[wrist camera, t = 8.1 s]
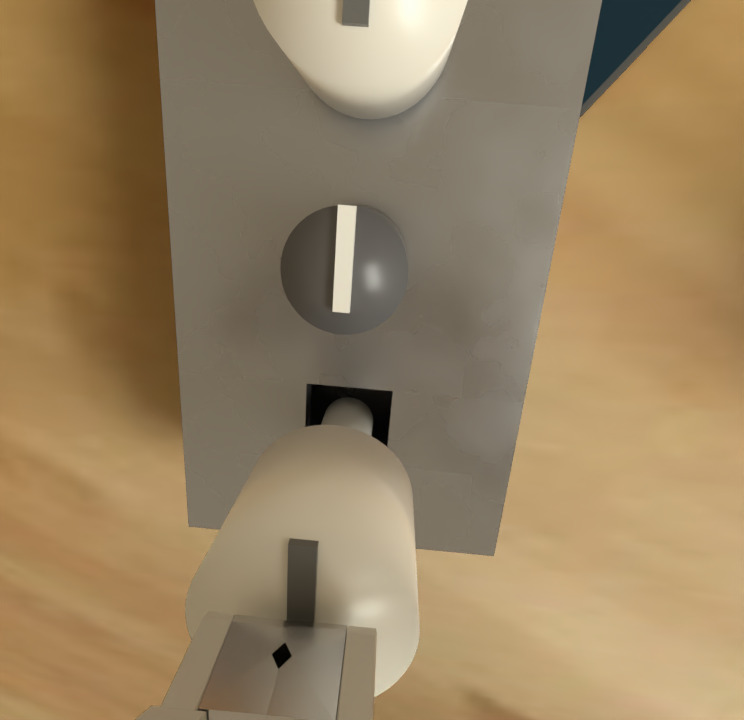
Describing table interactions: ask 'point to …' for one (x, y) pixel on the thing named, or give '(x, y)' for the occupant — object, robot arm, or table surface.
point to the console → (419, 231)
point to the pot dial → (345, 268)
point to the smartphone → (624, 39)
